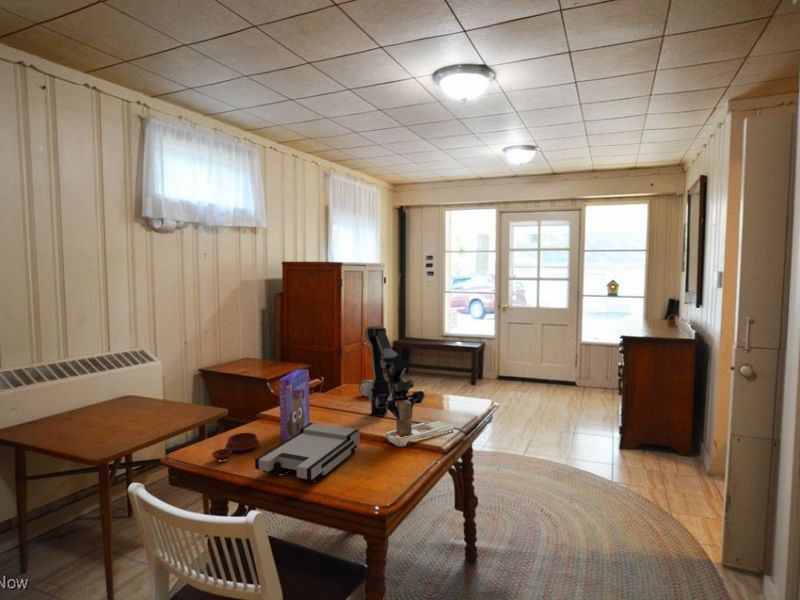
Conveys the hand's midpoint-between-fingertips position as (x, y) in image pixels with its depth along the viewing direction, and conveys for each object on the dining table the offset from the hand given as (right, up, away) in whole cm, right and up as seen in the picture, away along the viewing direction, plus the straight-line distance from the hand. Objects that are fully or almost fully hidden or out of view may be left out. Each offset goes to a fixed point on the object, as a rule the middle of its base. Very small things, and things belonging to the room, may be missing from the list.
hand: (405, 419), depth 182 cm
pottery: (-61, -11, -8) cm, 63 cm away
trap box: (+6, -8, +7) cm, 12 cm away
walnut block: (0, -6, +2) cm, 6 cm away
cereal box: (-44, -8, +11) cm, 46 cm away
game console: (-32, -11, -18) cm, 39 cm away
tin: (-15, -4, +61) cm, 63 cm away
